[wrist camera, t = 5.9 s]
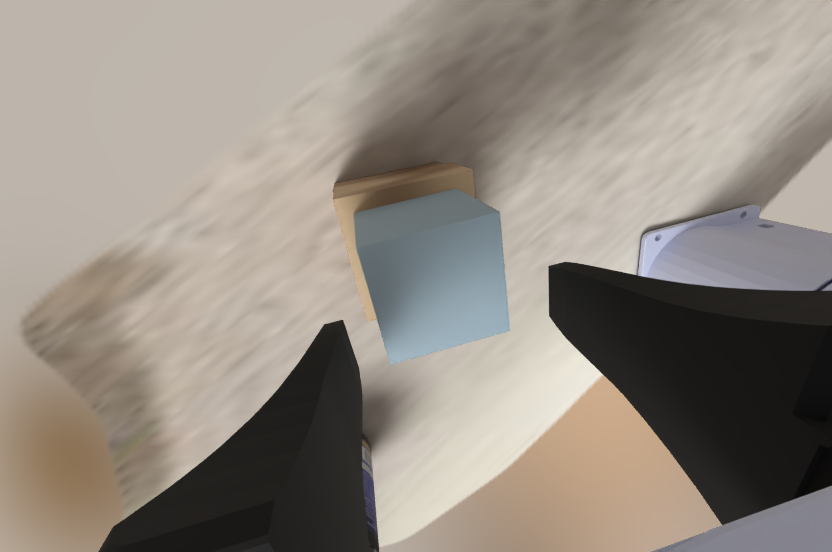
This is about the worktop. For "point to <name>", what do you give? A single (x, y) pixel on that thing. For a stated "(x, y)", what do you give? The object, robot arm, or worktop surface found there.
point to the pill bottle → (369, 495)
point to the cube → (433, 272)
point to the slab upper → (391, 192)
